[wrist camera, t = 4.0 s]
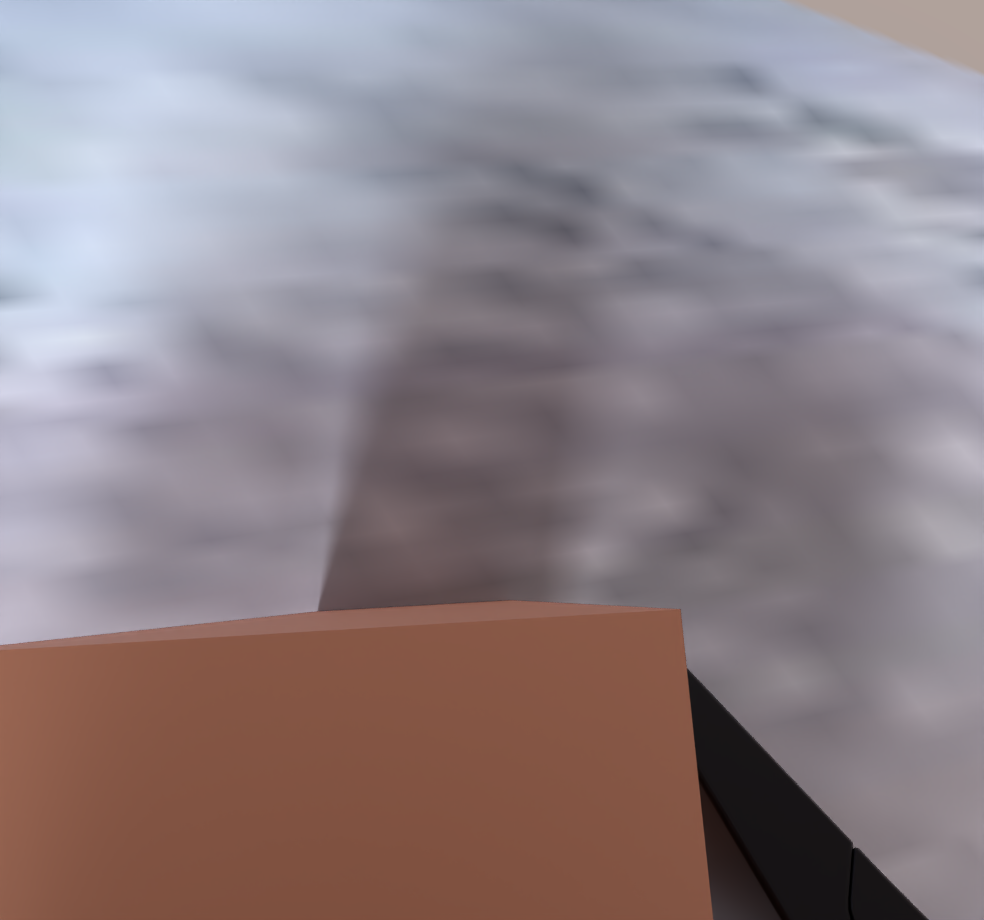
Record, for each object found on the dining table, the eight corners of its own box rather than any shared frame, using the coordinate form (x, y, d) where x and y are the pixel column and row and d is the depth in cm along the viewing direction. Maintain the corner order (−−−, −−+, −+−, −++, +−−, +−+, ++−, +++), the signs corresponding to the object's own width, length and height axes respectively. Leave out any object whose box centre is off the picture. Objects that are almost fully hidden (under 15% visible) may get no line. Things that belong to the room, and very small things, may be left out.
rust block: (523, 804, 16) (779, 1560, 3) (319, 821, 15) (-210, 1713, 3) (510, 600, 16) (680, 609, 4) (316, 611, 16) (-103, 655, 4)
